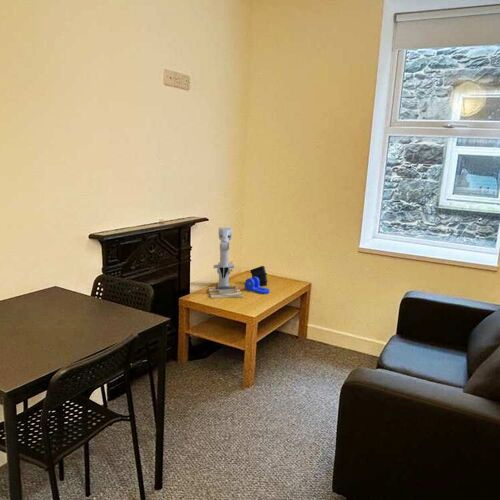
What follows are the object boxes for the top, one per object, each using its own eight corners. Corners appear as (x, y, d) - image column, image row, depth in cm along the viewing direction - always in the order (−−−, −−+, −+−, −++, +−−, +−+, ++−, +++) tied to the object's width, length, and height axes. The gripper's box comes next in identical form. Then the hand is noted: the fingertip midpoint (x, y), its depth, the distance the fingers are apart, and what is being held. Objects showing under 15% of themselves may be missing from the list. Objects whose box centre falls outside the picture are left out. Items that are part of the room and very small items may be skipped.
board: (208, 289, 322) (208, 287, 322) (238, 288, 326) (238, 287, 326) (211, 298, 303) (211, 296, 303) (242, 297, 307) (243, 296, 307)
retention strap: (215, 288, 314) (215, 286, 314) (235, 288, 317) (235, 286, 317) (215, 289, 311) (215, 287, 310) (236, 289, 313) (236, 287, 313)
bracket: (244, 289, 325) (245, 277, 323) (251, 287, 332) (252, 275, 330) (265, 295, 315) (265, 283, 313) (271, 292, 322) (272, 280, 320)
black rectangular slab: (269, 285, 333) (262, 266, 333) (254, 289, 339) (247, 271, 338) (271, 283, 336) (264, 265, 336) (256, 288, 342) (249, 270, 342)
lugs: (212, 290, 316) (212, 285, 315) (235, 290, 319) (235, 285, 318) (213, 293, 310) (213, 288, 309) (236, 292, 313) (237, 288, 312)
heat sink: (217, 289, 318) (217, 285, 317) (231, 289, 320) (231, 285, 319) (219, 294, 308) (219, 290, 308) (233, 293, 310) (233, 289, 310)
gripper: (214, 260, 307) (213, 279, 310) (235, 260, 310) (234, 279, 313) (213, 258, 314) (212, 276, 317) (233, 258, 317) (233, 276, 320)
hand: (223, 277), depth 315 cm, fingers closed
